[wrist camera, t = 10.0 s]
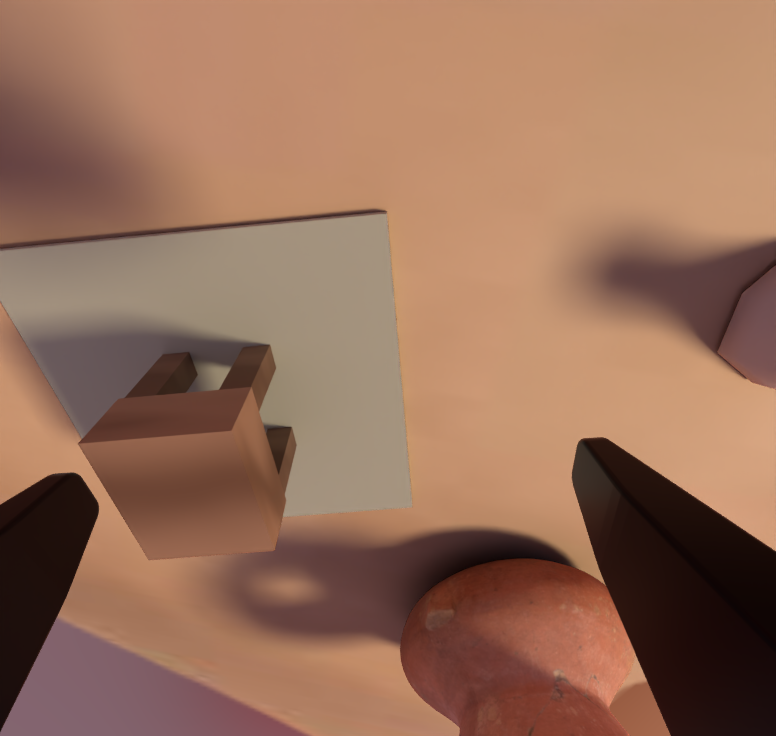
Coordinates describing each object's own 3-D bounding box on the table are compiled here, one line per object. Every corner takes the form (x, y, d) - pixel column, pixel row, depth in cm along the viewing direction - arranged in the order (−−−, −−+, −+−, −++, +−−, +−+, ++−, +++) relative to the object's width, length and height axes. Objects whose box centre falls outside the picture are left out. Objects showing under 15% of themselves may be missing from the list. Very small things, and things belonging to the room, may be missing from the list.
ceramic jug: (342, 592, 29) (315, 938, 17) (521, 485, 24) (664, 866, 12) (497, 681, 36) (557, 972, 24) (660, 613, 31) (839, 934, 19)
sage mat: (386, 211, 16) (386, 213, 16) (411, 501, 25) (412, 507, 24) (-20, 250, 17) (-28, 253, 17) (138, 522, 25) (135, 528, 25)
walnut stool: (299, 446, 22) (274, 550, 17) (202, 454, 22) (148, 560, 17) (271, 342, 19) (231, 430, 14) (159, 352, 19) (77, 443, 14)
